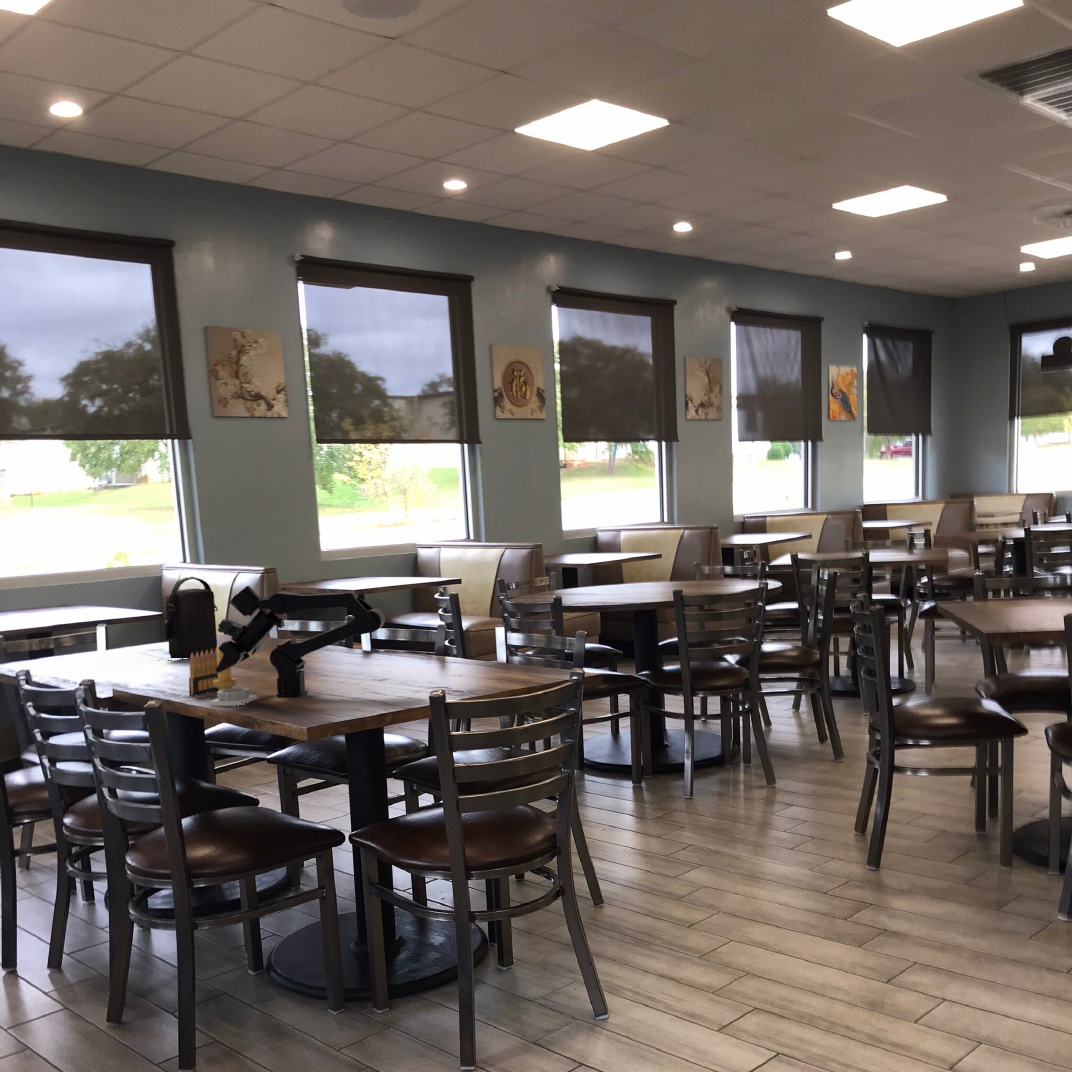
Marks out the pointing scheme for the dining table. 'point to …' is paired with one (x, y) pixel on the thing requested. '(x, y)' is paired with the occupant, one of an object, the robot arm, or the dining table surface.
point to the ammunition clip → (202, 673)
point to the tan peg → (224, 675)
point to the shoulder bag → (190, 620)
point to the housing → (232, 697)
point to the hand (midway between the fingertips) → (219, 670)
